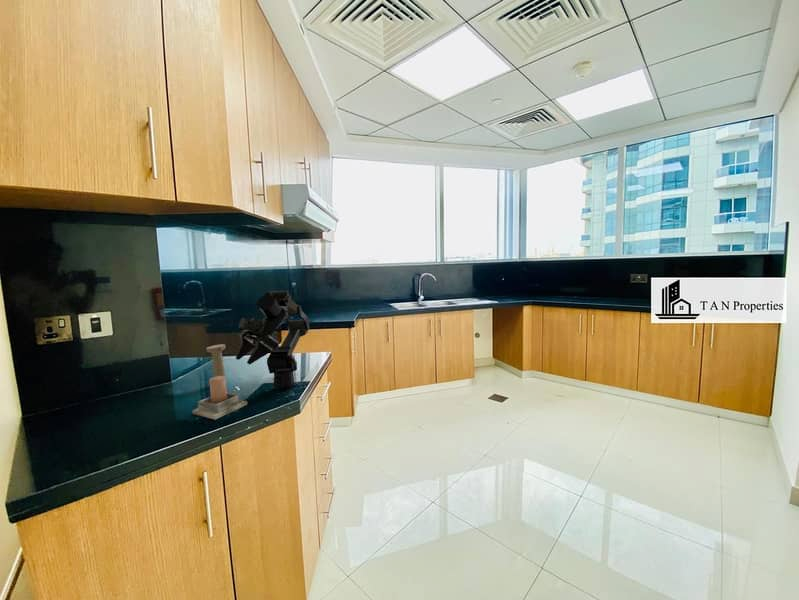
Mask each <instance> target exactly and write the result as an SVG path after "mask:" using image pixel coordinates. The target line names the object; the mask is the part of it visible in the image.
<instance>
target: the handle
mask: <svg viewBox="0 0 799 600" xmlns="http://www.w3.org/2000/svg"><path fill="white" fill-rule="evenodd" d="M225 349H226V344H224V343H223V344H222V343H221V344H214V345H211V346H208V347H206V352H207V353H211V357H212V359H211V360H212V374H213V375H212V376H213V377H216V376H225V377H226V369H225V364H224V358H223V351H224V350H225Z"/></svg>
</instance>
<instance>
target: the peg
mask: <svg viewBox="0 0 799 600" xmlns="http://www.w3.org/2000/svg"><path fill="white" fill-rule="evenodd" d="M208 382H209V390H210V397H211V400H212V404H218V403H221V402H223V401H225V400H228V398H227V392H228V391H227V390H228V389H227V383H226V375H225V376H216V377H214V376H212V377H211V378H209V380H208Z"/></svg>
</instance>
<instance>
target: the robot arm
mask: <svg viewBox="0 0 799 600" xmlns="http://www.w3.org/2000/svg"><path fill="white" fill-rule="evenodd" d="M256 305H257V307H258V309H259V310H260V312H261V313H263V315H264V316H265V317H264V318H262V319H259V318H257V317H251V319H249V318H243V317H242V318H241V319H240V322H239V325H238V328H241V329H244V330H241V331H240V333H239V334H238V336H239V339H240V346H239V348H238V351H237V354H236V357H235V359H236V360H237V361H239V360H241V359H242V358H243V357H245V356H246V355H247V354H248V353H249V352H251V351H252V350H253V351H252V352H251V354H250V356H249V357H248V359H247V361H246V363H247V365H252V364H254V363H255V362H257V361H258V360H260V359H261V358H264V357H265V356H267V355H268V356H267V358H266V364H267V368H268V371H269V374H273V386H272V388H271V389H272V390H275V391H281V392H286V391H288V390H291V389H294V387H297V386H298V383H296V382H295V375H294V372H296V371H298V362H297V360H296V359H295V357H294V355H293V353H294V350H295V348H296V346H297V344H298V343H299V340H300V338H301V337H304V336H305V335H306V334H307V333H308V332H309V330H310V320H309V316H308V315H306V313H304V311H303V309H302V306H301V305H299V304H297V303H296V302H295V301H293V300H292V296H291V294H290V293H289V291H287V290H276V291H275V290H274V291H268V292H267V291H266V292H264V295H262V296H260V297H259V299H257V302H256ZM291 316H299V318H300V319H299V320H297V319H296V320H291V319H290V318H291ZM285 319H286V323H285V324H286V327H287V331H288V332H287V334H286V336H285V338H284V340H283V342H282V343H281V345H280V343H279V342H278V340H276V339H275V338H274V337H273V336H274V335H275V333H279V331H280V329H279V328H280V326H281V325H282V324H283V322H284V320H285Z"/></svg>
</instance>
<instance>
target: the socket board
mask: <svg viewBox="0 0 799 600" xmlns="http://www.w3.org/2000/svg"><path fill="white" fill-rule="evenodd" d="M227 398H228V400H225V401H223V402H221V403H218V404H212V400H211V396H209V397H207V398H205V399H204V398H203V399H201V400H199V401H197V408H195V409H193V410H192V411H191V412H192V414H193V415H196V416H199V417H200V416H201V417H203V418H207V419H212V420H217V419H220V418H221V417H224V416H225V415H228V414H230V413H233V412H235V411H237V410H239V409H241V408H243V407H245V406H247V405H248V401H246V400H242V396H241V394H237V393H233V392H228V391H227Z"/></svg>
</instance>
